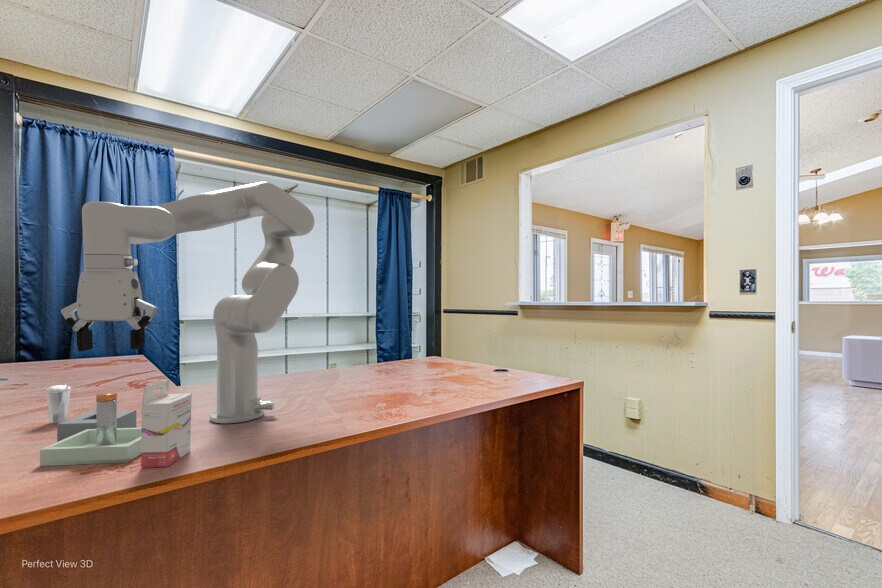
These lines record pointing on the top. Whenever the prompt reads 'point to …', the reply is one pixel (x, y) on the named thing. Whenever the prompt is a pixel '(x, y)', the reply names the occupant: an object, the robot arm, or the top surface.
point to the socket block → (93, 423)
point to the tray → (93, 449)
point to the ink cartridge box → (164, 426)
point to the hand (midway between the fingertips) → (111, 349)
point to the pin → (106, 419)
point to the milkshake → (58, 403)
